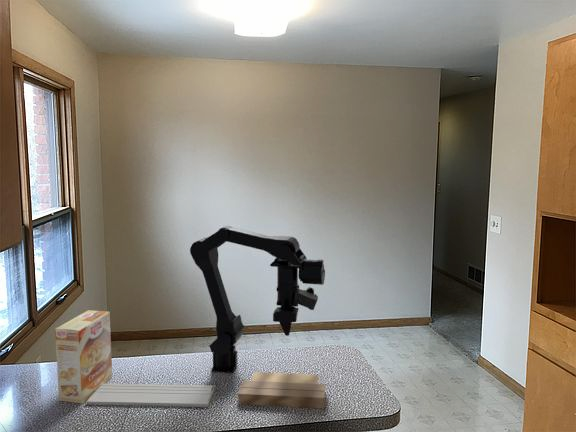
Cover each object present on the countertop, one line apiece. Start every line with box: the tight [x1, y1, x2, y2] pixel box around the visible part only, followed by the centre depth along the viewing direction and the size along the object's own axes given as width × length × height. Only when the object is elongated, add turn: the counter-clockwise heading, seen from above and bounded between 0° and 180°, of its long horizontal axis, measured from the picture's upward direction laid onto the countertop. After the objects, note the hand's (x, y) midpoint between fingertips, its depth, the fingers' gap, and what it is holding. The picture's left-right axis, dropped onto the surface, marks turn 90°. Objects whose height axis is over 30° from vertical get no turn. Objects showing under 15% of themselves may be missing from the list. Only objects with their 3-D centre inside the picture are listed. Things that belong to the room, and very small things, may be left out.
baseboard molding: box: [86, 380, 218, 408], centre depth 124 cm, size 31×3×12 cm
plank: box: [250, 371, 319, 384], centre depth 128 cm, size 18×6×3 cm, turn 85°
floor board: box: [237, 380, 326, 409], centre depth 122 cm, size 22×8×3 cm, turn 85°
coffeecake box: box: [54, 309, 113, 404], centre depth 125 cm, size 15×7×20 cm, turn 171°
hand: (287, 335), depth 134 cm, fingers closed
